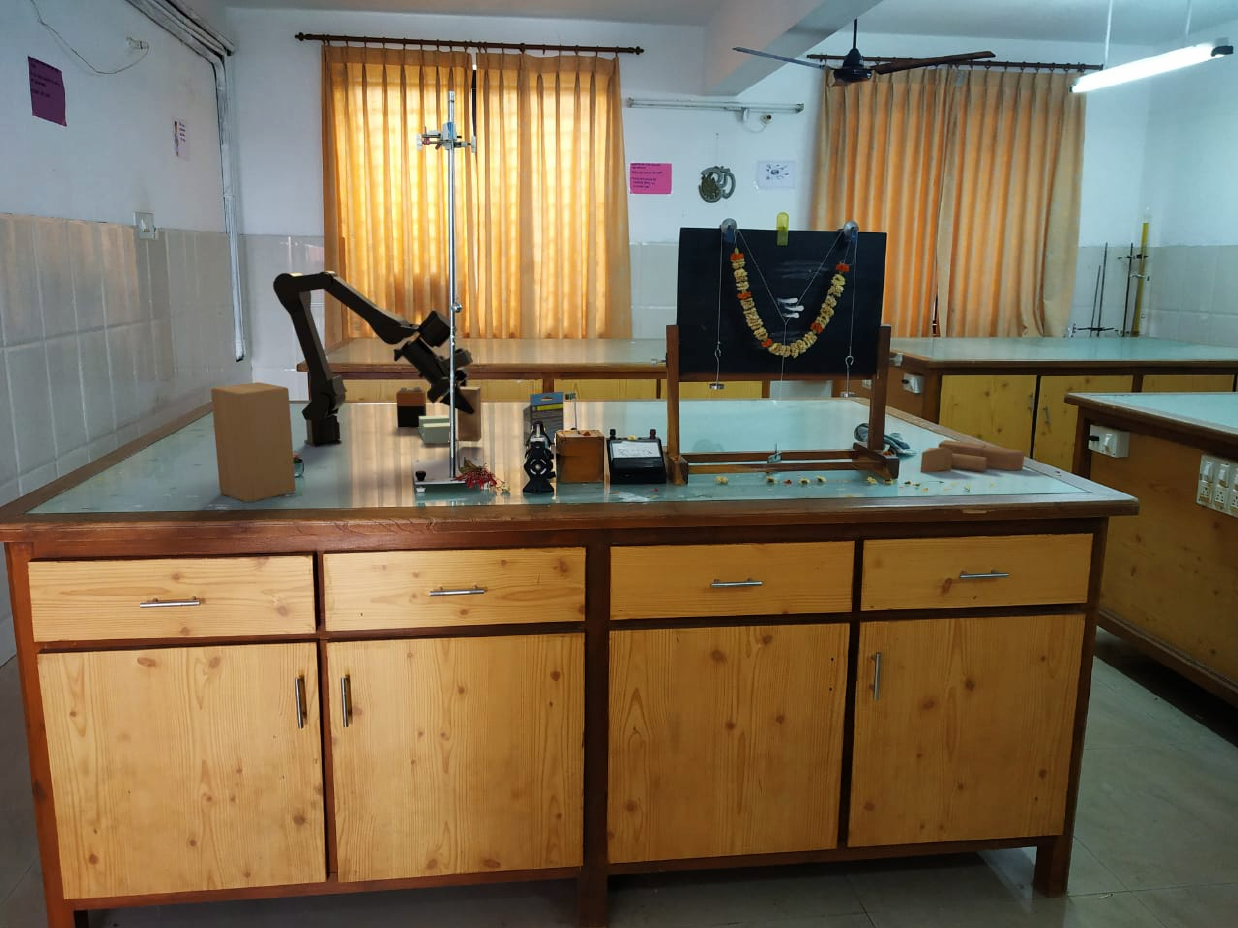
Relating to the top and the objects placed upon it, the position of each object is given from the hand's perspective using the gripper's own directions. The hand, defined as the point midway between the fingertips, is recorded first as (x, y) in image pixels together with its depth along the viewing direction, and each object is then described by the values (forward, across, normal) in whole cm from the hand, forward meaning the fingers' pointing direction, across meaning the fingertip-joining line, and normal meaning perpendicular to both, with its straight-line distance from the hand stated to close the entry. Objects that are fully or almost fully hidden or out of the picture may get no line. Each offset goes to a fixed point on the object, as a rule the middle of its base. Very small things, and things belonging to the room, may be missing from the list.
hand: (475, 411), depth 216 cm
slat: (+4, 0, +6) cm, 7 cm away
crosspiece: (-2, +10, +14) cm, 17 cm away
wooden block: (-16, -44, +29) cm, 55 cm away
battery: (-9, +22, +21) cm, 32 cm away
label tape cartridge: (+16, +6, -4) cm, 18 cm away
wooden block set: (+83, -10, -71) cm, 109 cm away
